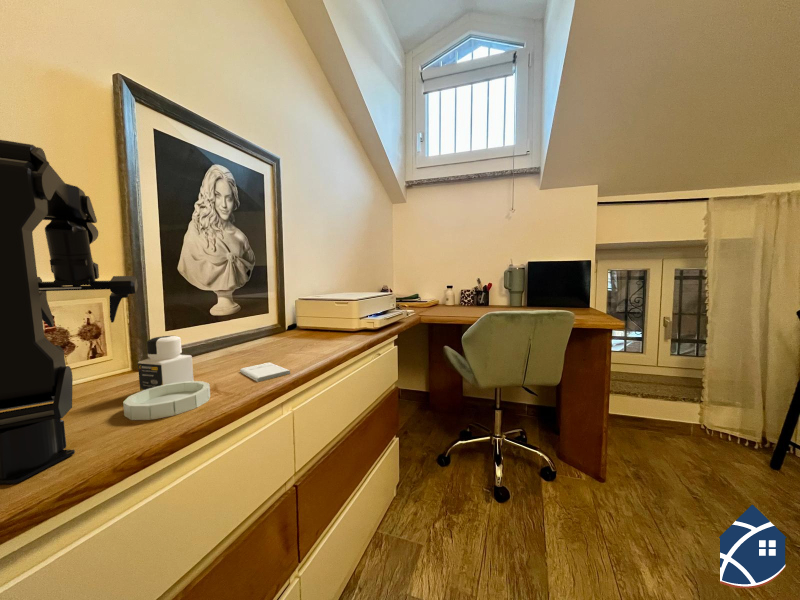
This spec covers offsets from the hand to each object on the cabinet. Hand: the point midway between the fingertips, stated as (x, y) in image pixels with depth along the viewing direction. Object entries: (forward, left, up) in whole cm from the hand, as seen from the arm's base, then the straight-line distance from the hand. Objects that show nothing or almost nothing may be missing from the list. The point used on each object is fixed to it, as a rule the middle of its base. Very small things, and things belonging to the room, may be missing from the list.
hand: (83, 324), depth 65 cm
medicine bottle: (+3, -15, -16) cm, 22 cm away
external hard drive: (+14, -32, -16) cm, 39 cm away
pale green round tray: (-6, -23, -16) cm, 29 cm away
